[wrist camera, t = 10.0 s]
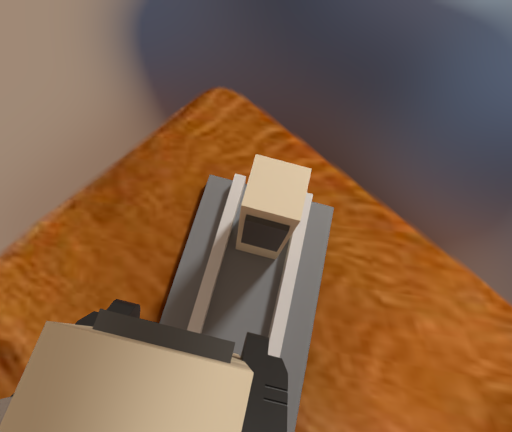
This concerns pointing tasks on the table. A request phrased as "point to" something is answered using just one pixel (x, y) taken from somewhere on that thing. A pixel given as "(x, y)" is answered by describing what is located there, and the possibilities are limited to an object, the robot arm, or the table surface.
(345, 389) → the table surface
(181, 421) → the maple finger
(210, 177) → the rail board
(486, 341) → the table surface
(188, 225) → the table surface
